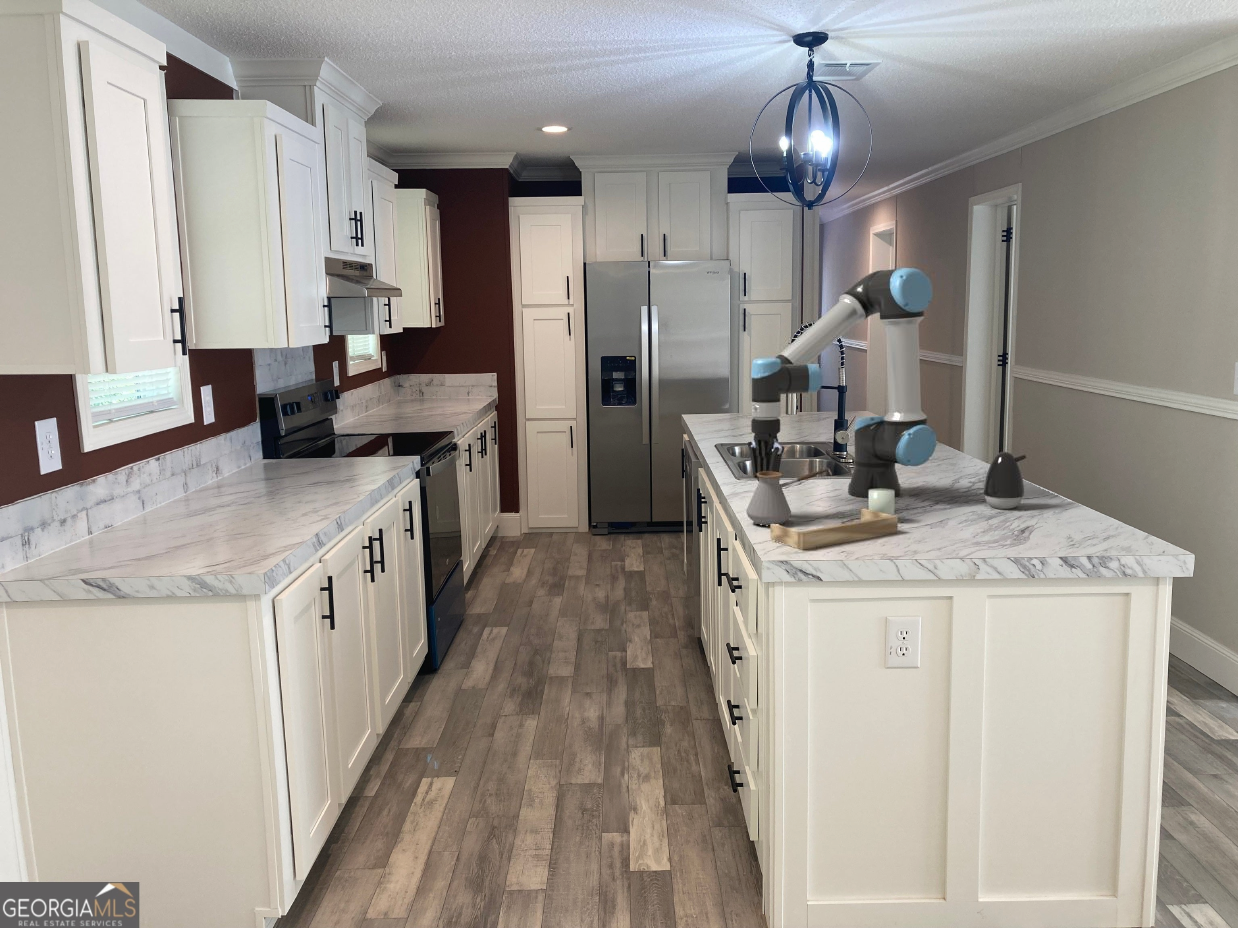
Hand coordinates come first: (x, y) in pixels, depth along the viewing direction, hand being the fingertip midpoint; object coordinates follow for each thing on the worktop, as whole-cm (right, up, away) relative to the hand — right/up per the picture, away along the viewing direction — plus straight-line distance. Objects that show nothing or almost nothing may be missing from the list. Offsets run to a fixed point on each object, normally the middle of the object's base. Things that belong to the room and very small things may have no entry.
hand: (765, 506), depth 248 cm
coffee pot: (+5, -4, -7) cm, 10 cm away
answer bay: (+13, -6, -23) cm, 27 cm away
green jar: (+29, -4, -7) cm, 30 cm away
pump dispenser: (+65, -1, +5) cm, 65 cm away
